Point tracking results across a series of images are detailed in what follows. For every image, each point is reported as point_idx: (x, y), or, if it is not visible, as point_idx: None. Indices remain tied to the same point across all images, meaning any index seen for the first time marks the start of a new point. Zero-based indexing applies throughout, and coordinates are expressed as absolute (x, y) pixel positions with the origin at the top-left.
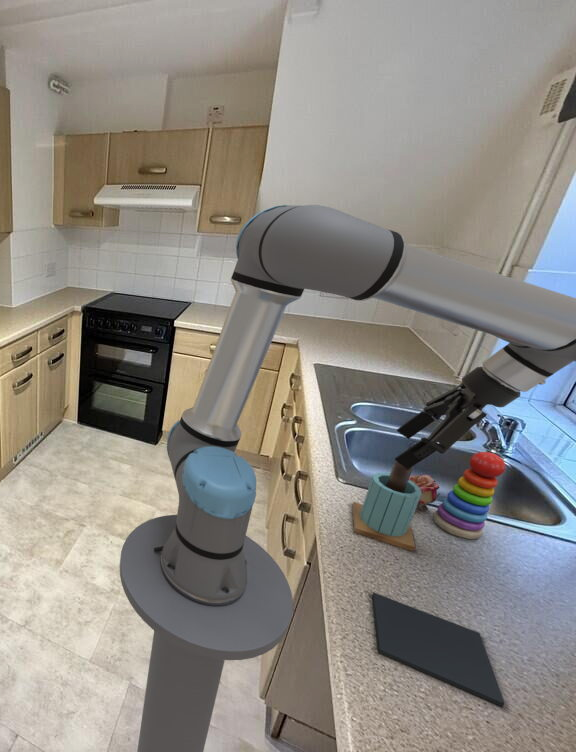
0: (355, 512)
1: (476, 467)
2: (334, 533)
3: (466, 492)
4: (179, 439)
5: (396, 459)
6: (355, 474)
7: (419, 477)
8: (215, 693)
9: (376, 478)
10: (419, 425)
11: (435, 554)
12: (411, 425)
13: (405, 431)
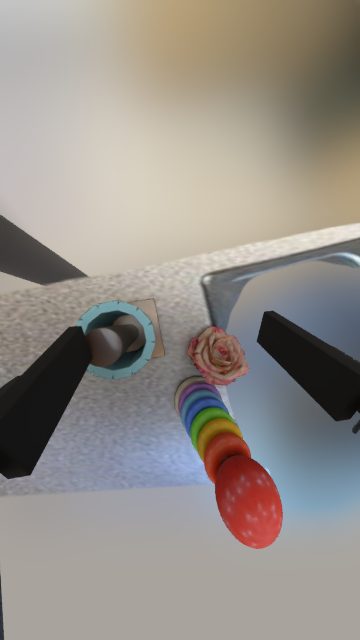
0: (128, 303)
1: (221, 476)
2: (72, 290)
3: (199, 429)
4: None
5: (67, 330)
6: (234, 292)
7: (227, 362)
8: (8, 273)
9: (108, 307)
10: (297, 366)
11: (120, 386)
12: (289, 343)
13: (268, 331)
